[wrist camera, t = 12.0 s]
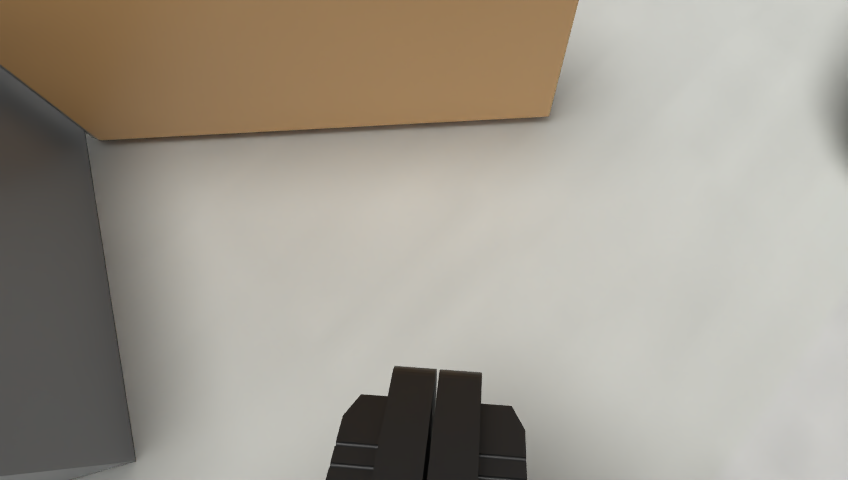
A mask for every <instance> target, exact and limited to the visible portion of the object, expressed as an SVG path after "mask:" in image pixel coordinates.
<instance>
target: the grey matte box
mask: <svg viewBox="0 0 848 480" xmlns="http://www.w3.org/2000/svg"><path fill="white" fill-rule="evenodd" d="M135 461H136V460H135V454H134V447H133V441H132V434H131V428H130V421H129V415H128V409H127V402H126V396H125V389H124V383H123V376H122V370H121V363H120V357H119V351H118V344H117V338H116V331H115V325H114V318H113V312H112V306H111V299H110V293H109V286H108V280H107V273H106V267H105V261H104V254H103V248H102V241H101V235H100V228H99V222H98V215H97V209H96V203H95V196H94V190H93V183H92V177H91V170H90V164H89V158H88V151H87V145H86V138H85V132H84V130H82V129H81V128H80V127H78V126H77V125H76V124H74V123H73V122H72V121H70V120H69V119H68V118H66V117H65V116H64V115H62V114H61V113H60V112H59V111H57V110H56V109H55V108H53V107H52V106H51V105H49V104H48V103H47V102H45V101H44V100H43V99H41V98H40V97H39V96H37V95H36V94H35V93H34V92H32V91H31V90H30V89H28V88H27V87H26V86H24V85H23V84H22V83H20V82H19V81H18V80H16V79H15V78H14V77H12V76H11V75H10V74H9V73H7V72H6V71H5V70H3V69H2V68H1V67H0V480H71V479H75V478H78V477H82V476H85V475H89V474H92V473H96V472H100V471H103V470H107V469H110V468H114V467H117V466H121V465H124V464H128V463H131V462H135Z"/></svg>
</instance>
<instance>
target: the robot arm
mask: <svg viewBox="0 0 848 480" xmlns="http://www.w3.org/2000/svg"><path fill="white" fill-rule="evenodd" d="M436 384H437V369H429V368H415V367H402V366H395V367H394V369H393V373H392V378H391V383H390V388H389V393H388V396H376V395H363V394H361V395H360V396H359V397H358V399H357V400H356V401H355V402H354V403H353V405H352V406H351V407H350V408H349V409H348V410H347V412H346V413H345V414H344V415H343V418H342V421H341V425H340V429H339V432H338V436H337V440H336V446H335V447H334V451H333V455H332V458H331V464H330V468H329V470H328V473H327V477H326V480H527V469H526V442H525V429H524V428H523V426H522V424H521V422H520V420H519V419H518V417H517V415H516V413H515V411H514V410H513V408H512V406H503V405H490V404H481V385H482V373H480V372H467V371H453V370H440V372H439V380H438V388H437V397H436Z"/></svg>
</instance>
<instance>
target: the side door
mask: <svg viewBox="0 0 848 480" xmlns="http://www.w3.org/2000/svg"><path fill="white" fill-rule="evenodd" d="M578 1H579V0H0V67H1V68H2V69H3V70H5V71H6V72H7V73H9V74H10V75H11V76H12V77H14V78H15V79H16V80H18V81H19V82H20V83H22V84H23V85H24V86H26V87H27V88H28V89H30V90H31V91H32V92H34V93H35V94H36V95H37V96H39V97H40V98H41V99H43V100H44V101H45V102H47V103H48V104H49V105H51V106H52V107H53V108H55V109H56V110H57V111H59V112H60V113H61V114H62V115H64V116H65V117H66V118H68V119H69V120H70V121H72V122H73V123H74V124H76V125H77V126H78V127H80V128H81V129H82V130H84V131H85V132H86V133H87V134H89V135H90V136H91V137H93V138H95V139H98V140H115V139H134V138H153V137H172V136H191V135H209V134H228V133H247V132H266V131H285V130H303V129H322V128H341V127H360V126H379V125H397V124H416V123H435V122H454V121H473V120H491V119H510V118H529V117H548V116H549V114H550V110H551V106H552V103H553V99H554V95H555V91H556V87H557V83H558V79H559V75H560V71H561V67H562V64H563V60H564V56H565V52H566V48H567V44H568V40H569V36H570V32H571V28H572V25H573V21H574V17H575V13H576V9H577V5H578Z"/></svg>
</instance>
